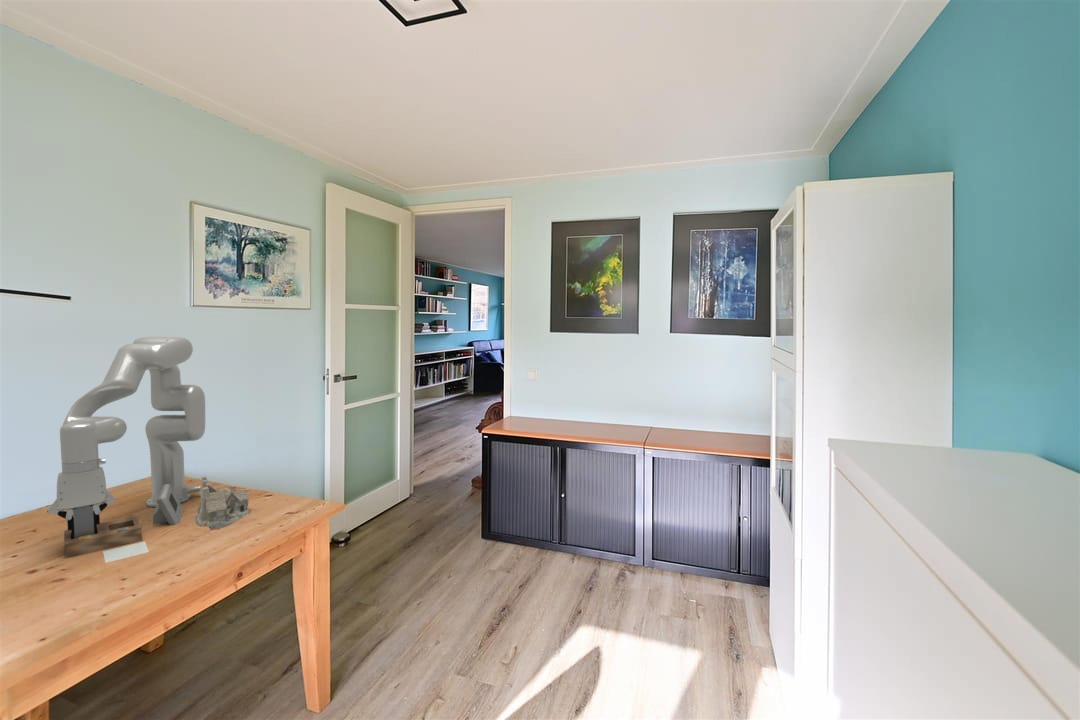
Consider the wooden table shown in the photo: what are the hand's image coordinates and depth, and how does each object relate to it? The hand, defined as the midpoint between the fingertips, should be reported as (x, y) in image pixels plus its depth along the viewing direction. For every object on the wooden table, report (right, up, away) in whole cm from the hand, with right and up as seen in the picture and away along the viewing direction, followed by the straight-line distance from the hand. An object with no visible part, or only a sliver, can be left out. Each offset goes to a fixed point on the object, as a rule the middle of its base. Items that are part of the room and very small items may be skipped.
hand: (84, 528), depth 136 cm
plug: (0, -3, 0) cm, 3 cm away
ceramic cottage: (+24, -5, +24) cm, 34 cm away
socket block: (+3, -6, +3) cm, 7 cm away
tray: (+14, -7, -2) cm, 16 cm away
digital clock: (+8, -5, +22) cm, 24 cm away
